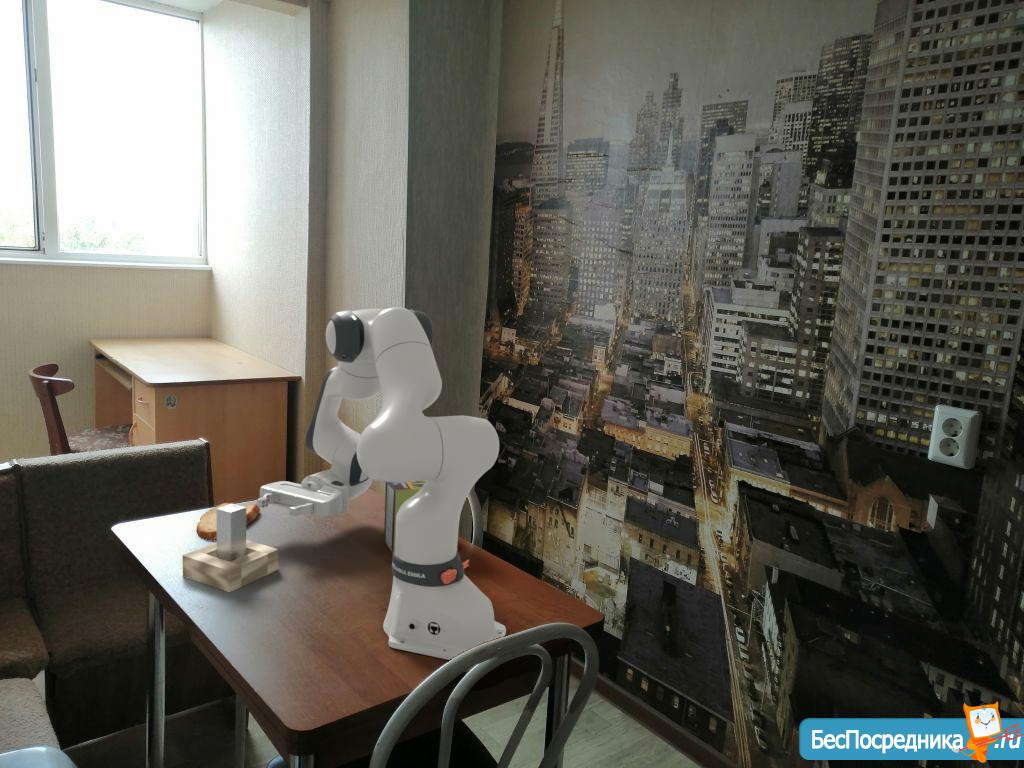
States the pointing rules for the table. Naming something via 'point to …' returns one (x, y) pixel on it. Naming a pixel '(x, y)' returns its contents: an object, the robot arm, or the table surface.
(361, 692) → the table surface
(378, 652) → the table surface
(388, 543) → the protein box
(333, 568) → the table surface
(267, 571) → the well block
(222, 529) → the steel post
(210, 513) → the bread slice
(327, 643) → the table surface
